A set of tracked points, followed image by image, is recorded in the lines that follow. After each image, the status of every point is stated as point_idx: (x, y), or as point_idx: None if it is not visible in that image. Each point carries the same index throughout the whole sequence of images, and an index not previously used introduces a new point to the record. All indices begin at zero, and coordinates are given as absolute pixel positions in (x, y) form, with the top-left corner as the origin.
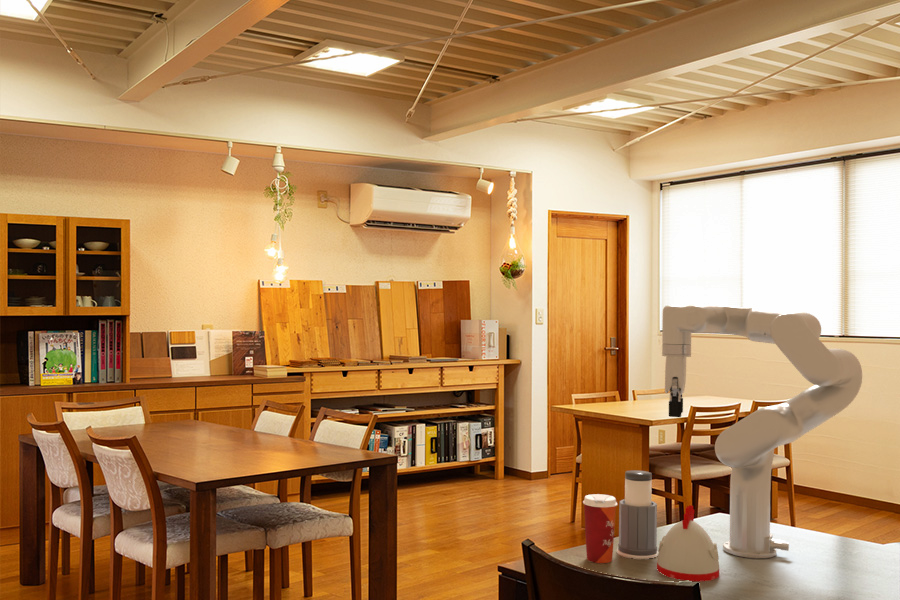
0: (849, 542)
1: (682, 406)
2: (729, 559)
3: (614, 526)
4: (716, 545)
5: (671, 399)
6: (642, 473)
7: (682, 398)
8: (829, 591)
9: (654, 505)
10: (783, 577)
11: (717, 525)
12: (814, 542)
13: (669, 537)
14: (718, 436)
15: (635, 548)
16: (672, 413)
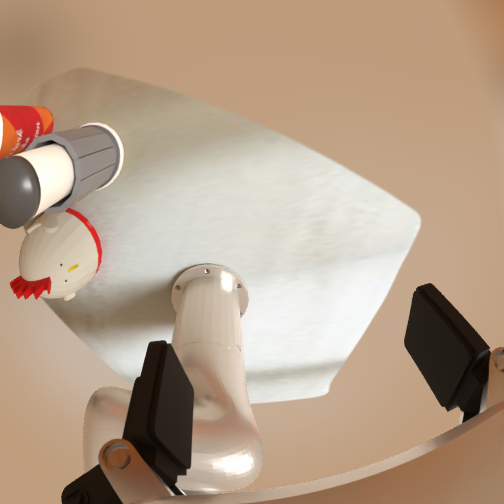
0: (324, 371)
1: (422, 369)
2: (152, 281)
3: (11, 155)
4: (64, 300)
5: (106, 462)
6: (8, 206)
7: (448, 408)
8: (117, 371)
9: (50, 212)
10: (126, 339)
11: (351, 226)
12: (307, 348)
13: (21, 249)
14: (92, 434)
15: None
16: (139, 377)
